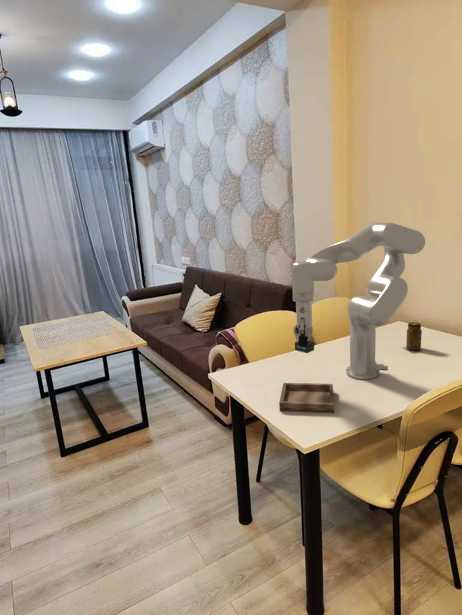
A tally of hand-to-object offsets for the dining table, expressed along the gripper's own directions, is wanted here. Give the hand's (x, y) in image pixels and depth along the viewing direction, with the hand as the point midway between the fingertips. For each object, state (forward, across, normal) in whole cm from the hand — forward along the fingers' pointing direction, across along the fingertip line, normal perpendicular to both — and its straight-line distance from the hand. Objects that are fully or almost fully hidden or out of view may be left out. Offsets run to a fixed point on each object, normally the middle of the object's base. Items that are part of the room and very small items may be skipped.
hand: (304, 342), depth 151 cm
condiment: (+18, +44, -46) cm, 66 cm away
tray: (+18, -11, -2) cm, 21 cm away
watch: (+3, 0, 0) cm, 3 cm away
